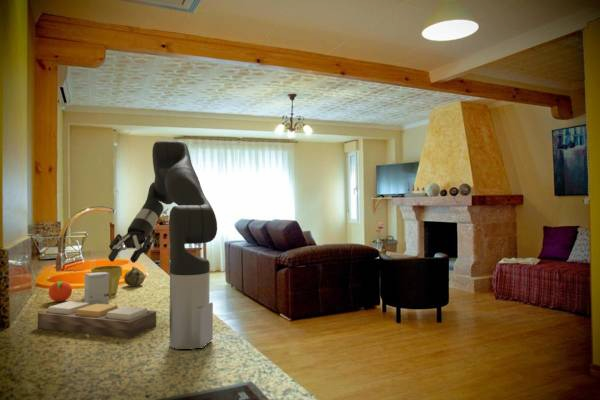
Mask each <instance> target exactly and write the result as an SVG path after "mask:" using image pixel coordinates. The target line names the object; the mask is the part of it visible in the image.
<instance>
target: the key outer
mask: <svg viewBox="0 0 600 400" xmlns="http://www.w3.org/2000/svg"><path fill="white" fill-rule="evenodd" d="M87 306H89V303H84V302H83V301H82V302H81V301H71V300H69V301H66V302H65V301H64V302H60V303H57V304H55V305H50V306H48V310H49V312H50V313H60V314H72V313H75V312H77V310H78V309H81V308H84V307H87Z"/></svg>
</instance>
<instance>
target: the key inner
mask: <svg viewBox="0 0 600 400" xmlns="http://www.w3.org/2000/svg"><path fill="white" fill-rule="evenodd" d="M117 308H118V309H115V310H112V311H110V312H107V318H112V319H122V320H132V319H135V318H137V317H140V316H142V315H145V314H147V311H148V307H141V306H129V305H128V306H127V305H124V306H121V307H117Z"/></svg>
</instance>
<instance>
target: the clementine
mask: <svg viewBox="0 0 600 400" xmlns="http://www.w3.org/2000/svg"><path fill="white" fill-rule="evenodd" d="M72 293H73V288H72V285H71V283H69V282H67V281H64V280H60V281H56V282H54V283H52V285H50V287H49V289H48V296H49V298H50V299H51V300H52V301H54V302H56V303H57V302H58V303H63V302H65V301H67V300H68V299H69V298H70V297H71V296H72Z"/></svg>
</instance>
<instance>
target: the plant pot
mask: <svg viewBox="0 0 600 400" xmlns="http://www.w3.org/2000/svg"><path fill="white" fill-rule="evenodd" d="M97 272H106V273H109V296H111V295H112V296H113V295H115V294H117V293H118V288H119V284H120V279H121V277H122V276H123V266H122V265H118V264H117V265H116V264H115V265H111V264H110V265H100V266H99V265H98V266H95V267H92V268H91V269H90V273H97Z"/></svg>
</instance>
